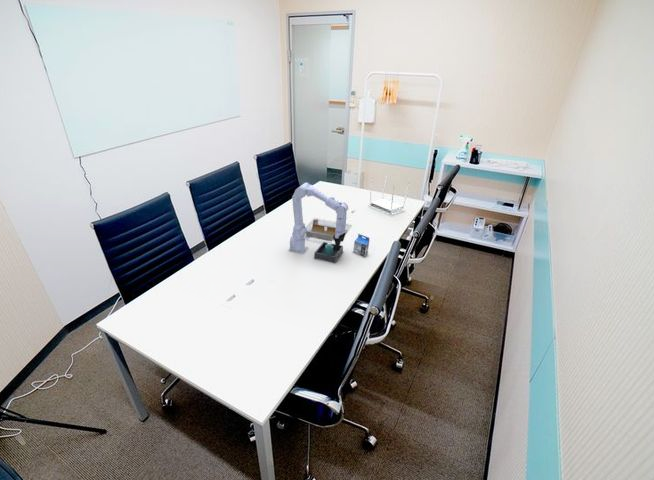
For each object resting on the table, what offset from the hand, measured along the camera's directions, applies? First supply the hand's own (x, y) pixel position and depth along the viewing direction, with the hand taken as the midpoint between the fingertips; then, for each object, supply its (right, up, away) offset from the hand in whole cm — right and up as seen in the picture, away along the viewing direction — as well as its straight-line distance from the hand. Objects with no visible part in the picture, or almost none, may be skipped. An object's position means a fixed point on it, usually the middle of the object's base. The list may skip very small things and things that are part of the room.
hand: (339, 243), depth 204 cm
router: (+47, +34, +74) cm, 94 cm away
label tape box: (+15, -6, +10) cm, 19 cm away
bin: (-6, -7, +8) cm, 12 cm away
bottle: (-6, -6, +8) cm, 12 cm away
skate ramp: (-7, +11, +37) cm, 39 cm away
